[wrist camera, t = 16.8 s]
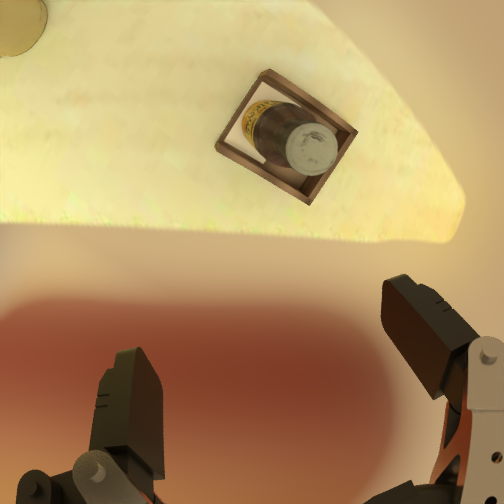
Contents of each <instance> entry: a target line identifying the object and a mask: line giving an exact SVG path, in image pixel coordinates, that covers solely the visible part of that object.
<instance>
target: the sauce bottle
mask: <svg viewBox="0 0 504 504" xmlns="http://www.w3.org/2000/svg"><path fill="white" fill-rule="evenodd" d="M242 131H243V134H244V136H245V137H246V139H247V140H248V141H249V143H250V144H251V145H252V146H253V147H254V148H255V149H256V151H257V152H258V153H259V154H260V155H261V156H263V157H264V158H265V159H266V160H267V161H269V162H270V163H272V164H274V165H276V166H279V167H284V168H292V169H293V170H295V171H296V172H298V173H300V174H302V175H306V176H316V175H319V174H322V173H324V172H326V171H327V170H328V169H329V168H330V167H331V166H332V165H333V164H334V162H335V160H336V158H337V154H338V145H337V140H336V137H335V135H334V134H333V132H332V131H331V130H330V129H329V128H328V127H327V126H325V125H324V124H321V123H319V122H317V121H316V118H315V117H314V116H313V115H312V114H310V113H309V112H307V111H306V110H304V109H302V108H301V107H299V106H297V105H295V104H293V103H288V102H281V101H272V100H263V101H259V102H257V103H255V104H253V105H252V106H250V107H249V108H248V109H247V111H246V112H245V114H244V116H243V119H242Z"/></svg>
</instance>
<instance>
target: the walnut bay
mask: <svg viewBox="0 0 504 504" xmlns="http://www.w3.org/2000/svg"><path fill="white" fill-rule="evenodd" d="M263 100H272V101H281V102H288V103H293V104H295V105H297V106H299V107H301V108H302V109H304V110H306V111H307V112H309V113H310V114H312V115H313V116H314V117H315V118H316V121H317V122H319V123H321V124H324V125H325V126H327V127H328V128H329V129H330V130H331V131H332V132H333V134H334V135H335V137H336V140H337V145H338V154H337V158H336V160H335V162H334V164H333V165H332V166H331V167H330V168H329V169H328V170H327V171H326V172H324V173H322V174H319V175H316V176H306V175H302V174H300V173H298V172H296V171H295V170H293V169H292V168H284V167H279V166H276V165H274V164H272V163H270V162H269V161H267V160H266V159H265V158H264V157H263V156H261V155H260V154H259V153H258V152H257V151H256V149H255V148H254V147H253V146H252V145H251V144H250V143H249V141H248V140H247V139H246V137H245V136H244V134H243V131H242V119H243V116H244V114H245V112H246V111H247V109H248V108H249V107H250V106H252V105H253V104H255V103H257V102H259V101H263ZM357 134H358V131H357V130H356V129H354V128H353V127H352V126H351V125H349V124H348V123H347V122H345V121H344V120H343V119H342V118H340V117H339V116H338V115H336V114H335V113H334V112H332V111H331V110H330V109H328V108H327V107H326V106H324V105H323V104H322V103H320V102H319V101H317V100H316V99H315V98H313V97H312V96H310V95H309V94H307V93H306V92H305V91H303V90H302V89H300V88H299V87H297V86H296V85H294V84H293V83H291V82H290V81H288V80H287V79H285V78H284V77H282V76H281V75H279V74H278V73H276V72H275V71H273V70H271V69H268V70H266V71H264V72H262V73H261V74H260V76H259V77H258V79H257V80H256V82H255V83H254V85H253V86H252V88H251V89H250V91H249V92H248V94H247V95H246V97H245V98H244V100H243V101H242V103H241V104H240V106H239V107H238V109H237V111H236V112H235V114H234V115H233V117H232V118H231V120H230V122H229V123H228V125H227V126H226V128H225V130H224V131H223V133H222V134H221V136H220V138H219V139H218V141H217V143H216V144H215V148H216V151H217V152H219V153H221V154H222V155H224V156H226V157H228V158H230V159H231V160H233V161H235V162H237V163H238V164H240V165H242V166H244V167H245V168H247V169H249V170H251V171H252V172H254V173H256V174H257V175H259V176H261V177H263V178H264V179H266V180H268V181H269V182H271V183H273V184H274V185H276V186H278V187H279V188H281V189H283V190H284V191H286V192H288V193H289V194H291V195H293V196H294V197H296V198H297V199H299V200H301V201H302V202H304V203H306V204H307V205H309V206H310V205H311V203H312V202H313V200H314V199H315V197H316V196H317V194H318V193H319V191H320V190H321V188H322V187H323V185H324V184H325V182H326V181H327V179H328V178H329V176H330V175H331V173H332V172H333V170H334V169H335V167H336V166H337V164H338V163H339V161H340V160H341V158H342V157H343V155H344V154H345V152H346V150H347V149H348V147H349V146H350V144H351V143H352V141H353V140H354V138H355V137H356V135H357Z"/></svg>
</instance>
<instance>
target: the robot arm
mask: <svg viewBox="0 0 504 504" xmlns="http://www.w3.org/2000/svg"><path fill="white" fill-rule="evenodd" d="M46 20H47V10H46V7H45V5H44V3H43V2H42V1H40V0H0V58H1V57H2V56H17V55H20V54H22V53H24V52H26V51H27V50H28V49H30V48H31V47H32V46H33V45H34V44H35V43H36V42H37V40H38V39H39V37H40V36H41V34H42V32H43V30H44V28H45V25H46ZM381 321H382V325H383V328H384V330H385V332H386V333H387V335H388V336H389V337H390V339H391V340H392V342H393V343H394V345H395V346H396V347H397V349H398V350H399V351H400V353H401V354H402V356H403V357H404V359H405V360H406V361H407V363H408V364H409V366H410V367H411V369H412V370H413V372H414V373H415V374H416V376H417V377H418V379H419V380H420V382H421V383H422V385H423V386H424V388H425V389H426V390H427V392H428V393H429V395H430V396H431V398H432V399H433V400H435V399H437V398H439V397H440V396H442V395H445V396H446V398H447V399H448V401H447V403H446V409H445V418H444V425H443V431H442V438H441V444H440V450H439V454H438V457H437V460H436V463H435V465H434V468H433V470H432V474H431V477H430V481H429V484H423V485H416V486H414V485H413V483H412V481H411V480H409V481H407V482H405V483H403V484H401V485H399V486H397V487H394V488H392V489H390V490H388V491H385V492H383V493H381V494H378V495H376V496H374V497H372V498H371V499H370V500H368V501H367V502H365V503H364V504H504V343H503V342H502V341H500V340H499V339H497V338H494V337H490V336H484V337H480V336H479V335H478V334H477V333H476V332H475V330H473V329H472V327H471V326H470V325H469V324H468V323H467V322H466V321H465V320H464V319H463V318H462V317H461V316H460V315H459V314H458V313H457V312H456V311H455V310H454V309H452V307H451V306H450V305H449V304H448V303H447V302H446V301H444V299H443V298H442V297H441V296H440V295H439V294H438V293H437V292H436V291H435V290H434V289H432V288H429V287H428V286H426V285H423V284H419V285H417V284H416V283H415V282H414V281H413V280H412V279H411V278H410V277H409V276H408V275H406V274H402V275H399V276H396V277H393V278H390V279H387V280H385V281H384V282H383V286H382V303H381ZM97 396H98V398H97V399H96V405H95V407H96V409H95V411H94V418H93V424H92V431H91V438H90V446H89V451H88V452H86V453H84V454H83V455H81V456H80V457H79V458H78V459H77V461H76V462H75V464H74V466H73V470H71V471H67V472H64V473H62V474H58V475H55V476H52V477H49V476H48V475H47V474H45V473H44V472H42V471H40V470H31V471H28V472H27V473H25V474H24V475H23V476H22V478H21V479H20V481H19V484H18V488H17V496H16V504H166V503H165V502H164V501H163V500H162V499H161V498H160V497H159V496H158V495H157V493H156V492H155V491H154V488H153V480H162V479H165V471H164V441H163V439H164V438H163V389H162V385H161V381H160V379H159V377H158V375H157V373H156V372H155V370H154V368H153V367H152V365H151V363H150V362H149V360H148V358H147V357H146V355H145V353H144V352H143V350H142V348H140V347H136V348H131V349H126V350H121V351H118V352H117V354H116V358H115V363H114V368H111V369H107V371H106V372H105V374H104V376H103V377H102V379H101V381H100V383H99V388H98V394H97Z"/></svg>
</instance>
